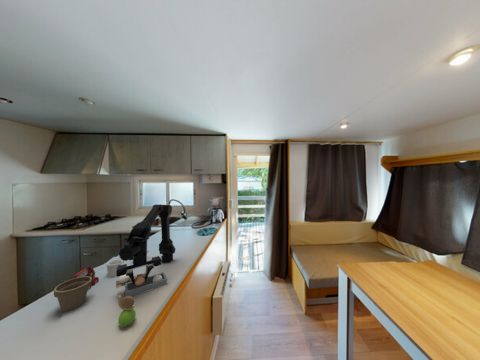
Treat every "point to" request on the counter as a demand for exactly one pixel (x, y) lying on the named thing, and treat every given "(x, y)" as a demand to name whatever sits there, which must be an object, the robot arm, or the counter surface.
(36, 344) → the counter surface
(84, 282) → the flower pot
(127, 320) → the snail figurine
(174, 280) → the counter surface
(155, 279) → the ball ivory trough
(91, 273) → the toy fire truck
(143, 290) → the trough
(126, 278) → the ball ivory rack
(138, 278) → the ball terracotta
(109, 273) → the cup
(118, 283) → the rack
